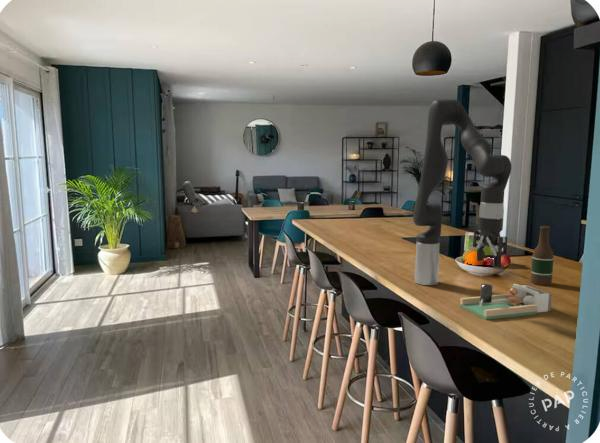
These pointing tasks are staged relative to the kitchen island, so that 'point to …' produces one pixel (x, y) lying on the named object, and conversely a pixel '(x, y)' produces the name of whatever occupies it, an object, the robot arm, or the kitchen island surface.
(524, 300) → the ball
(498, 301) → the striker
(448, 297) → the kitchen island surface
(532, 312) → the pitch
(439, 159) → the robot arm
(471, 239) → the tea box
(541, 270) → the beer bottle
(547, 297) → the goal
